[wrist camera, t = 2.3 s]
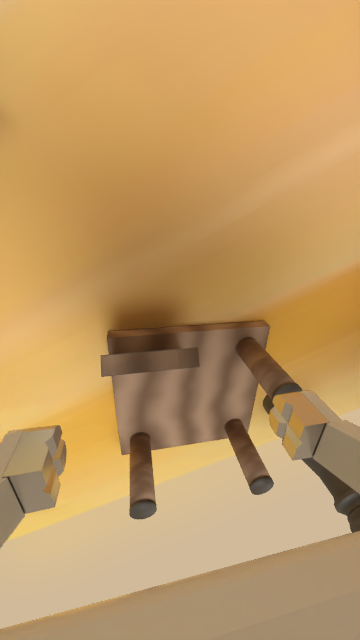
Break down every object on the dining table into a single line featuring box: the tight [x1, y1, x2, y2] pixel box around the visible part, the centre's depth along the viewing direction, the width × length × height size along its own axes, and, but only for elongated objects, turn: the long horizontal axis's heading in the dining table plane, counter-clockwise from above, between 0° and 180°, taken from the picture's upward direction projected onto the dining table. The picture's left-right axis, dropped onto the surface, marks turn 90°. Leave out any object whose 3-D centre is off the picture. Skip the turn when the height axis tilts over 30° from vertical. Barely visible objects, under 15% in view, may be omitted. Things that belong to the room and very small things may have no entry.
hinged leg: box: [101, 347, 200, 377], centre depth 30 cm, size 10×2×11 cm
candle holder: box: [263, 395, 360, 533], centre depth 38 cm, size 6×6×25 cm
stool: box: [107, 321, 302, 519], centre depth 37 cm, size 25×25×14 cm
